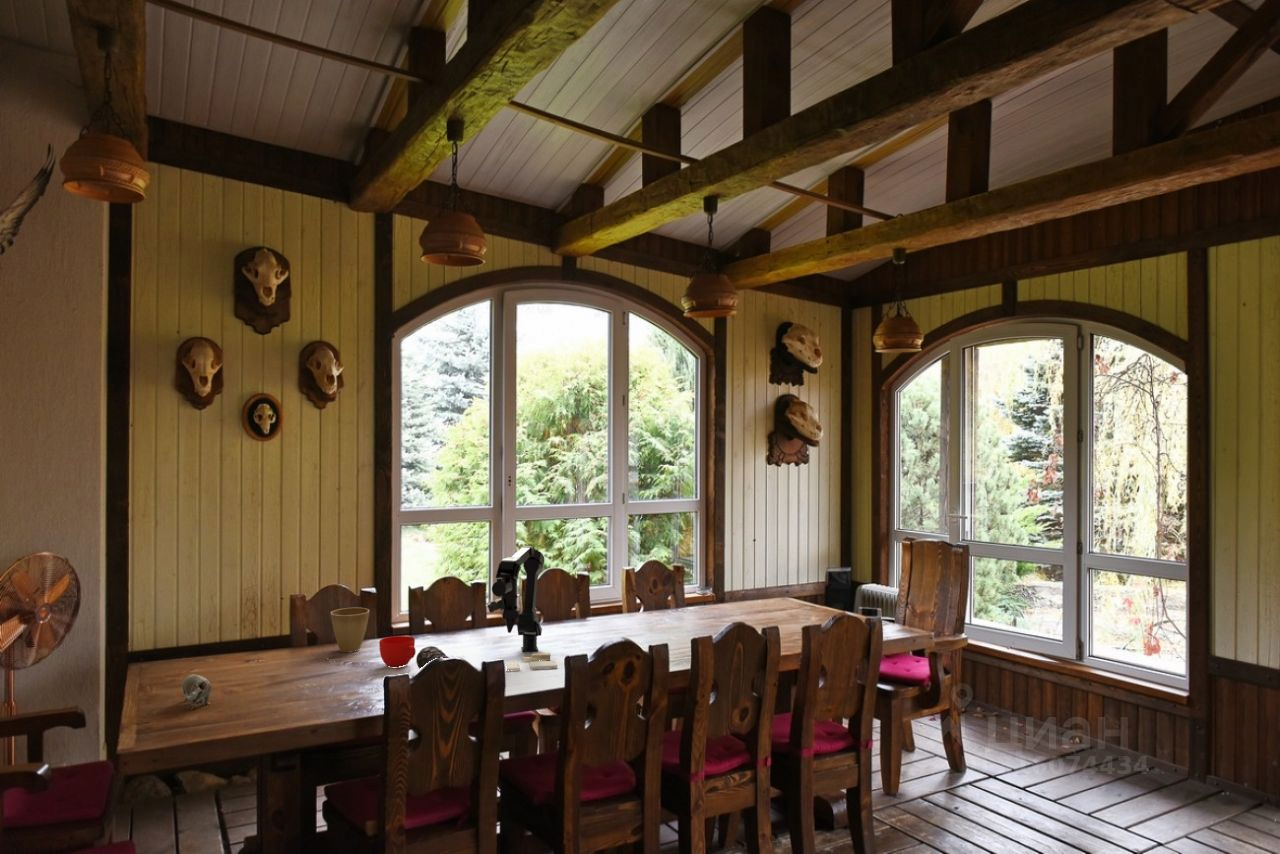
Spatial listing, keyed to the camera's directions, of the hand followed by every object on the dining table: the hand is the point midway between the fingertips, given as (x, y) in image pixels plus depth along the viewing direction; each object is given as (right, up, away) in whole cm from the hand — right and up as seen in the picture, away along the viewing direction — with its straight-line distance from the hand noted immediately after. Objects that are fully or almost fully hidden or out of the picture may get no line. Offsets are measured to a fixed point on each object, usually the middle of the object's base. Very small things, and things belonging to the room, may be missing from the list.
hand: (509, 632), depth 318 cm
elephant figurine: (-92, -10, -54) cm, 107 cm away
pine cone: (-24, -12, -18) cm, 32 cm away
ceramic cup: (-40, -12, -7) cm, 42 cm away
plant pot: (-68, -12, +18) cm, 71 cm away
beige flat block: (+10, -12, +4) cm, 16 cm away
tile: (+1, -11, -4) cm, 12 cm away
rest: (+14, -12, -5) cm, 19 cm away
